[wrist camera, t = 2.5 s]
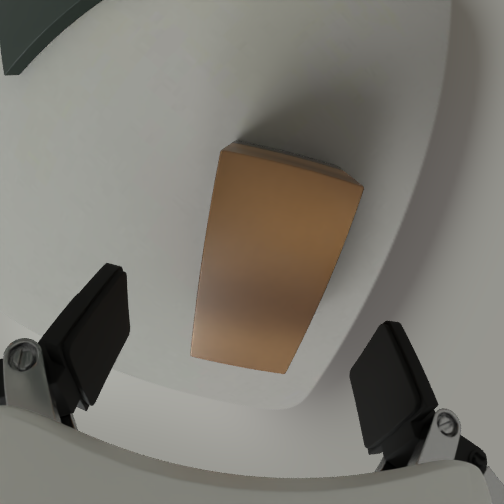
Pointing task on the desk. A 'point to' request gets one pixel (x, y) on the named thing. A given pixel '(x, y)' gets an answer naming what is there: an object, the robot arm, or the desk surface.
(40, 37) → the chalkboard
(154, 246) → the desk surface
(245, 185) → the eraser
